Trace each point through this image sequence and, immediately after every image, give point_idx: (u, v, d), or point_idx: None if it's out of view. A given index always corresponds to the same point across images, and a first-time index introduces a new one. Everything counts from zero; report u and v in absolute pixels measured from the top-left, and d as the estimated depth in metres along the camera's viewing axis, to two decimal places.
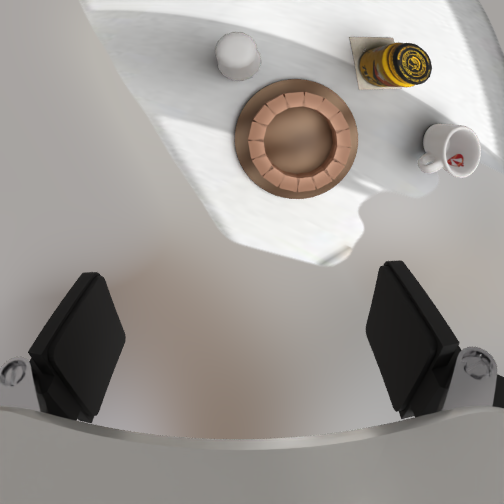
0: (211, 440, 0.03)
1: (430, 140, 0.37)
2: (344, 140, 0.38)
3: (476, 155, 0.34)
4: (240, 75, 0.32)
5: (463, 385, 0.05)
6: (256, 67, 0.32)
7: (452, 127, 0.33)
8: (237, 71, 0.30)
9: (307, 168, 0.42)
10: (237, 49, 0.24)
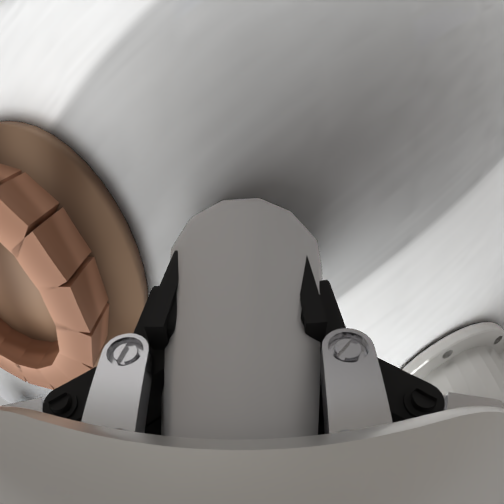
0: (211, 440, 0.03)
1: None
2: (7, 365, 0.14)
3: None
4: None
5: (340, 374, 0.05)
6: None
7: None
8: (169, 348, 0.07)
9: None
10: None
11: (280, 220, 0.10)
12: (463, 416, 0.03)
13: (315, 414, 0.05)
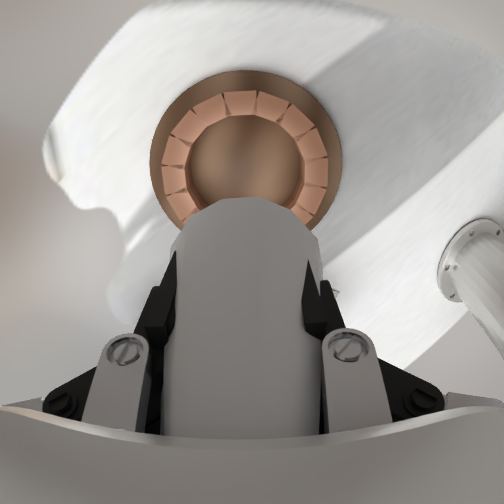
0: (211, 440, 0.03)
1: None
2: None
3: None
4: None
5: (340, 374, 0.05)
6: None
7: None
8: (169, 347, 0.07)
9: (197, 160, 0.26)
10: None
11: (280, 218, 0.10)
12: (463, 416, 0.03)
13: (316, 413, 0.05)
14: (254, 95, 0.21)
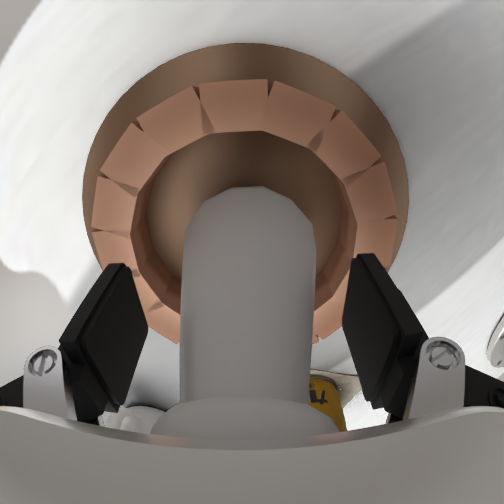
0: (211, 440, 0.03)
1: None
2: None
3: None
4: (185, 269, 0.10)
5: (430, 377, 0.05)
6: None
7: None
8: (189, 305, 0.08)
9: (159, 213, 0.15)
10: None
11: (281, 205, 0.11)
12: (463, 416, 0.03)
13: (308, 357, 0.07)
14: (263, 89, 0.10)
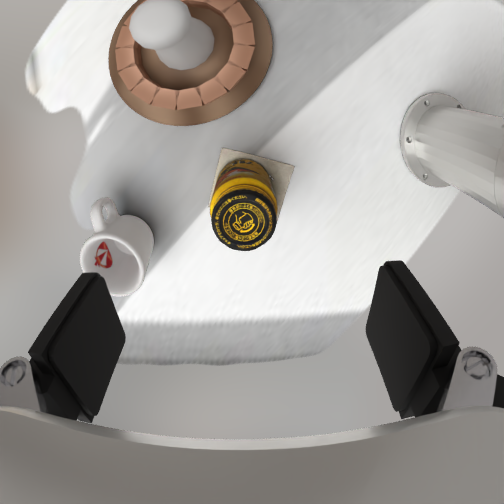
0: (211, 440, 0.03)
1: (133, 224, 0.33)
2: (163, 98, 0.26)
3: None
4: None
5: (463, 385, 0.05)
6: (158, 55, 0.22)
7: (144, 259, 0.31)
8: None
9: (146, 48, 0.25)
10: (153, 20, 0.14)
11: None
12: (463, 416, 0.03)
13: None
14: None
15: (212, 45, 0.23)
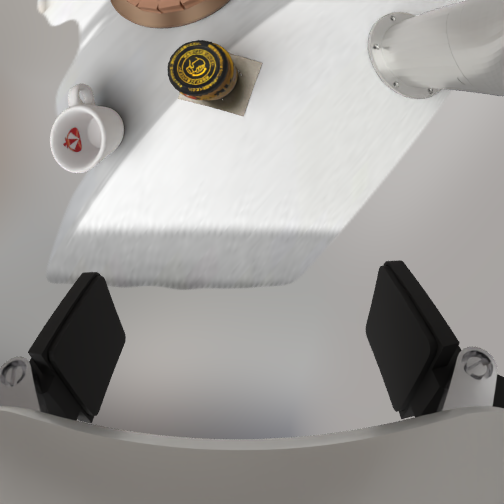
0: (211, 440, 0.03)
1: (105, 108, 0.30)
2: (147, 0, 0.23)
3: (69, 165, 0.29)
4: None
5: (463, 385, 0.05)
6: None
7: (107, 131, 0.28)
8: None
9: None
10: None
11: None
12: (463, 416, 0.03)
13: None
14: None
15: None
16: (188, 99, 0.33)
